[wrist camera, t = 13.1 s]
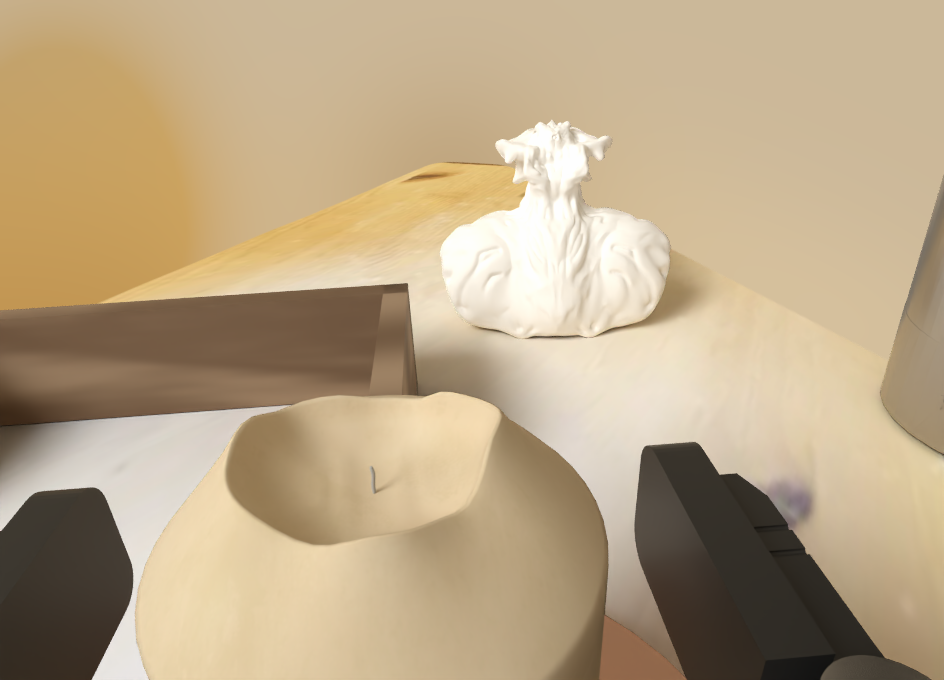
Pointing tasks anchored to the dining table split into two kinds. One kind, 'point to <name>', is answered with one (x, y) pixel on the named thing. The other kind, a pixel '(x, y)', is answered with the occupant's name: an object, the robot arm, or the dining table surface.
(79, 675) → the robot arm
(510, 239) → the bust
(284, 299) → the wooden frame
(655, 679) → the saucer
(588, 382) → the dining table surface
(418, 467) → the candle
